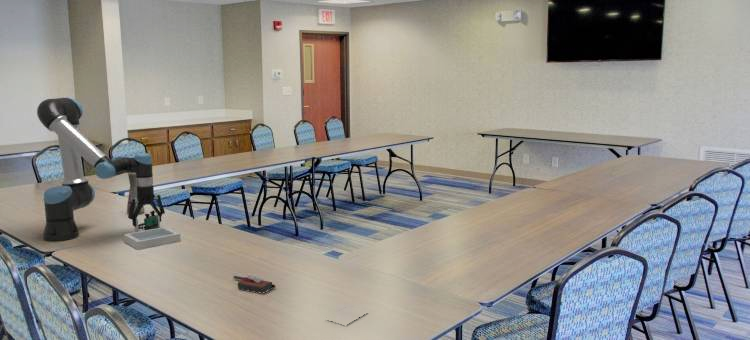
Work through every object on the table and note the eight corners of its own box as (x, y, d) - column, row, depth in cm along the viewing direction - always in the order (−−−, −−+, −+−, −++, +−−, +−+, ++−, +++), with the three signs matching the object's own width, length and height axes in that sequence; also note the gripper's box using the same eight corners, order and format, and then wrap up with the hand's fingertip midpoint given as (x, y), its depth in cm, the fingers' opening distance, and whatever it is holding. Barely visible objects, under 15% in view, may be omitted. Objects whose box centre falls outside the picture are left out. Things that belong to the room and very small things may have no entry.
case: (123, 241, 276) (123, 234, 276) (165, 233, 290) (165, 226, 289) (137, 249, 265) (137, 242, 264) (180, 240, 278) (180, 233, 278)
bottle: (141, 215, 324) (138, 164, 319) (124, 215, 324) (121, 164, 319) (147, 211, 333) (144, 161, 328) (131, 211, 333) (128, 161, 328)
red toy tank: (279, 287, 223) (235, 279, 231) (278, 276, 222) (235, 268, 230) (265, 295, 215) (220, 286, 223) (265, 284, 214) (220, 275, 222)
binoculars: (141, 210, 294) (159, 209, 292) (144, 231, 296) (162, 230, 294) (130, 215, 286) (148, 214, 284) (133, 236, 287) (152, 235, 285)
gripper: (124, 189, 277) (127, 236, 280) (170, 183, 292) (173, 227, 296) (118, 187, 282) (121, 233, 286) (164, 181, 297) (166, 224, 301)
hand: (147, 230), depth 291 cm, fingers closed on binoculars, 10 cm apart
